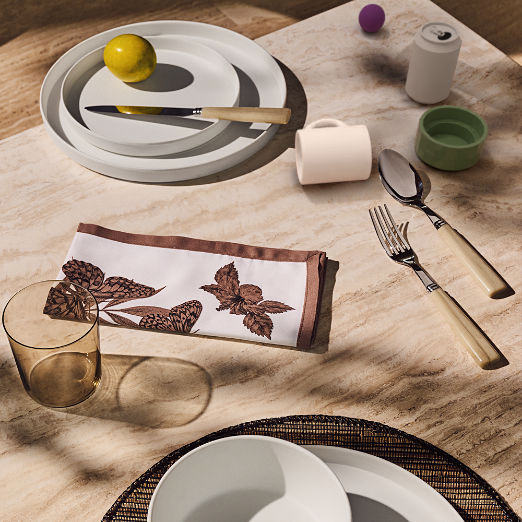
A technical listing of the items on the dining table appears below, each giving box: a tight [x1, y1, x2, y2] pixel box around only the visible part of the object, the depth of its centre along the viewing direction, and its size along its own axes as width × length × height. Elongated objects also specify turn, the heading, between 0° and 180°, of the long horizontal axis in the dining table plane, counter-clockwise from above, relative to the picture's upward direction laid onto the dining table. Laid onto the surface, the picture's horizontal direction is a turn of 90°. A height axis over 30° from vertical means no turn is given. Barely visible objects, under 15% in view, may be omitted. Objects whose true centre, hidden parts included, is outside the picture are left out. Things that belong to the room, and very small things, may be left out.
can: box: [404, 20, 463, 105], centre depth 112 cm, size 8×8×12 cm
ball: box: [357, 3, 386, 33], centre depth 127 cm, size 5×5×5 cm
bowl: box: [413, 104, 489, 172], centre depth 104 cm, size 10×10×5 cm
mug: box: [294, 117, 373, 186], centre depth 101 cm, size 12×10×8 cm
